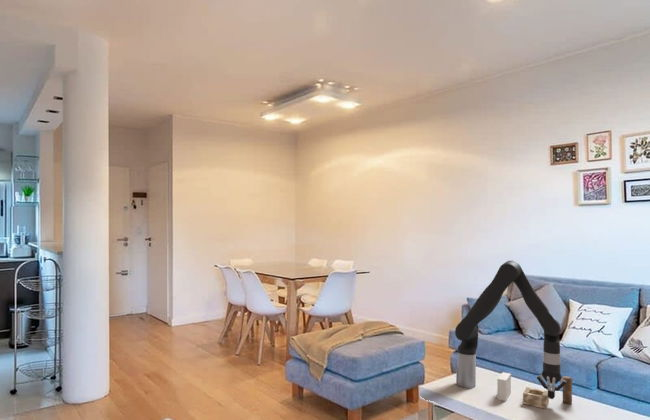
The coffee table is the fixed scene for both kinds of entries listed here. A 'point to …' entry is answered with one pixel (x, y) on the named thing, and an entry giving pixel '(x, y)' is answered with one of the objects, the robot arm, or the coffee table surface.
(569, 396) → the dowel
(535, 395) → the socket block
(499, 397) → the wall
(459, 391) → the coffee table surface
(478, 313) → the robot arm
